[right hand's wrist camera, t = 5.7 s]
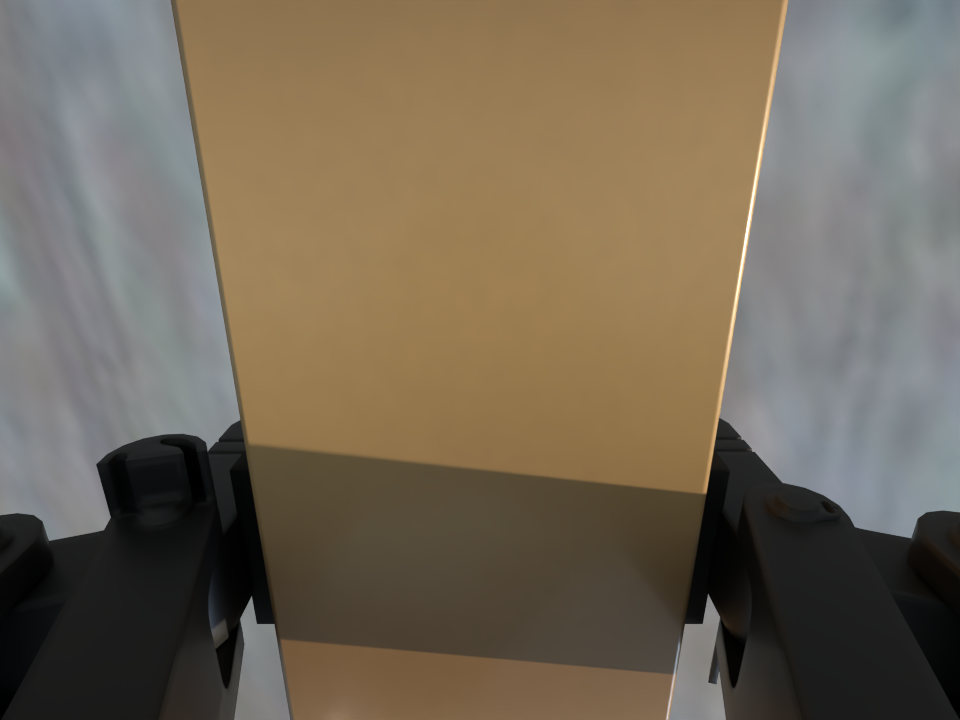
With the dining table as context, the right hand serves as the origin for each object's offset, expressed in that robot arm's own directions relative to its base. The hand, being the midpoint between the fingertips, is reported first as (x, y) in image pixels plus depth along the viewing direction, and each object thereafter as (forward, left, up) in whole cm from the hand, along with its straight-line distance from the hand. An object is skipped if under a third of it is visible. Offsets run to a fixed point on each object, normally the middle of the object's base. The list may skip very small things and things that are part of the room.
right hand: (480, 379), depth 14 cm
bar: (+4, +8, 0) cm, 9 cm away
